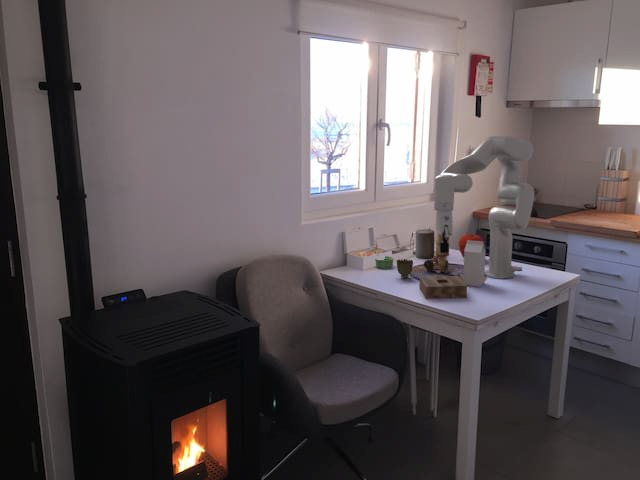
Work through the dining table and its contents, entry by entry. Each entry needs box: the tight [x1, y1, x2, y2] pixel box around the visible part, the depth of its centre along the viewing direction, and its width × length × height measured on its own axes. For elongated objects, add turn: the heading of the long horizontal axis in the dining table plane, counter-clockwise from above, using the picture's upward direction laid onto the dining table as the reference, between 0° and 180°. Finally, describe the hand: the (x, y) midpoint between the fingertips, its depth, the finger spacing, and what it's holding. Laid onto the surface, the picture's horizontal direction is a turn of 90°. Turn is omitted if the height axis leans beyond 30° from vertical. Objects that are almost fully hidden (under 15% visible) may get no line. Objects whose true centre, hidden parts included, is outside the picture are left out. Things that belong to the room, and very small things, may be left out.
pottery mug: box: [423, 255, 450, 274], centre depth 254 cm, size 12×10×8 cm
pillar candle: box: [415, 228, 435, 260], centre depth 280 cm, size 10×10×15 cm
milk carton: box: [462, 240, 486, 288], centre depth 232 cm, size 7×7×19 cm
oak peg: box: [435, 232, 451, 268], centre depth 219 cm, size 5×5×14 cm
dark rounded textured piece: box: [396, 258, 414, 280], centre depth 245 cm, size 8×7×8 cm
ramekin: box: [374, 255, 394, 270], centre depth 265 cm, size 9×9×4 cm
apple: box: [458, 234, 484, 259], centre depth 269 cm, size 12×12×14 cm
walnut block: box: [418, 275, 468, 300], centre depth 223 cm, size 16×14×5 cm
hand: (442, 250), depth 219 cm, fingers closed on oak peg, 5 cm apart
